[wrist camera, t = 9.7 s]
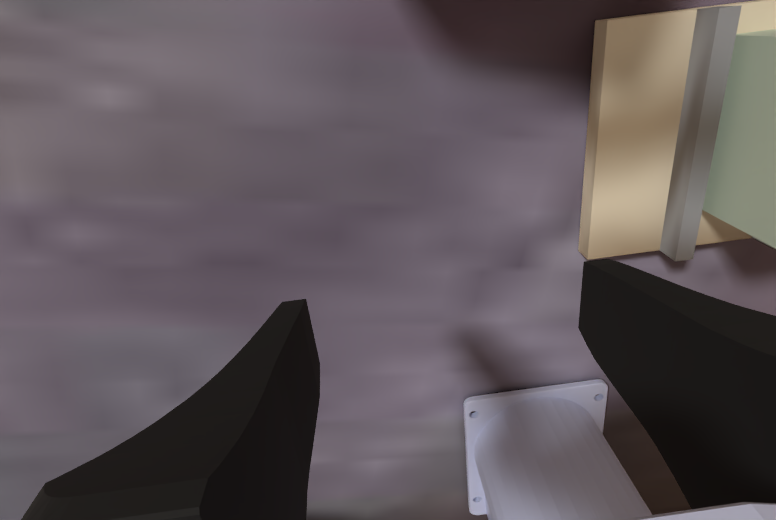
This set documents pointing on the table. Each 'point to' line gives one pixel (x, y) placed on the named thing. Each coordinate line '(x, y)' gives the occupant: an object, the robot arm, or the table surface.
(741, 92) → the pale green block
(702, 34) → the track board
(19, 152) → the table surface
